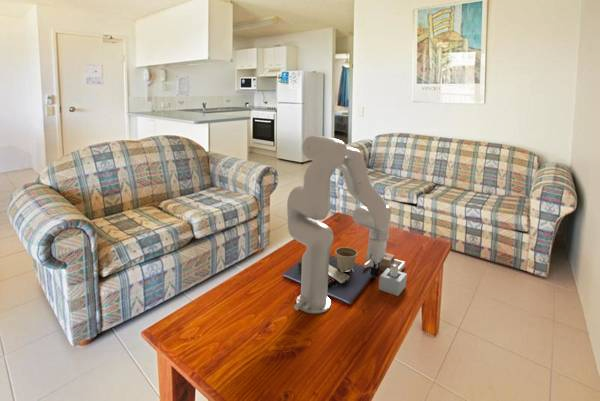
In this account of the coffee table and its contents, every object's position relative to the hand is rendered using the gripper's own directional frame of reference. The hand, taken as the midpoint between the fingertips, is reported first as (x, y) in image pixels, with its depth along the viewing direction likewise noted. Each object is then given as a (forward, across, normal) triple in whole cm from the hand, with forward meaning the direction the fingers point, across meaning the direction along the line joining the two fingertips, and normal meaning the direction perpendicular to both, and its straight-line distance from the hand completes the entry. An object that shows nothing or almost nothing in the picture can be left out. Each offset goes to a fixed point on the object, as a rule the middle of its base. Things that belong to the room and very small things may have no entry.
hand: (374, 275), depth 152 cm
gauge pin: (+1, +4, +9) cm, 10 cm away
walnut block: (+1, -11, 0) cm, 11 cm away
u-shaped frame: (+1, -10, 0) cm, 10 cm away
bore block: (+1, +4, +9) cm, 10 cm away
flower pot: (+1, +2, -13) cm, 13 cm away
